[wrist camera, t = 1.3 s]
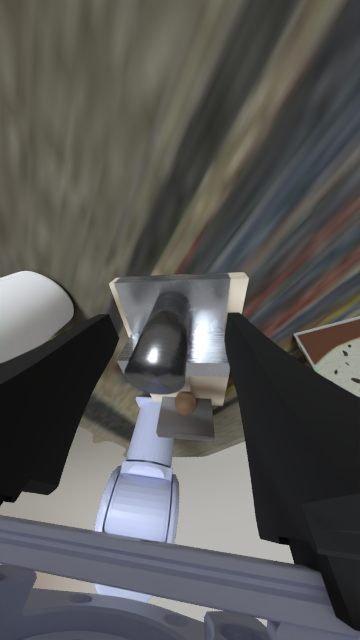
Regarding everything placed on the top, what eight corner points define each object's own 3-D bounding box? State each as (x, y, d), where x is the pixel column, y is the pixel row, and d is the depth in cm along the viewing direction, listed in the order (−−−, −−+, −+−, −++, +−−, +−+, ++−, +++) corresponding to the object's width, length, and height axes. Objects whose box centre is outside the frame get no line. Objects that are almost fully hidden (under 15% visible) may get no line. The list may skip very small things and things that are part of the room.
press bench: (221, 396, 26) (227, 443, 21) (155, 393, 27) (145, 436, 22) (244, 272, 13) (276, 312, 8) (116, 277, 14) (71, 315, 9)
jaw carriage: (219, 337, 14) (236, 425, 8) (139, 337, 15) (104, 416, 9) (227, 272, 10) (267, 347, 5) (120, 277, 11) (42, 344, 6)
